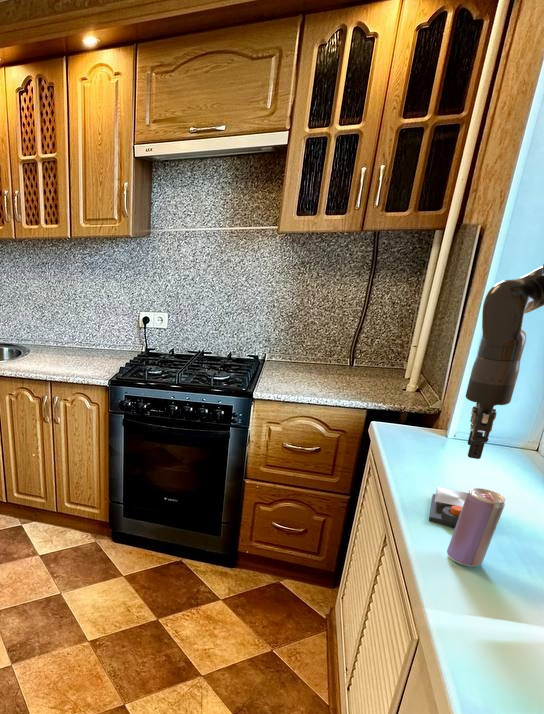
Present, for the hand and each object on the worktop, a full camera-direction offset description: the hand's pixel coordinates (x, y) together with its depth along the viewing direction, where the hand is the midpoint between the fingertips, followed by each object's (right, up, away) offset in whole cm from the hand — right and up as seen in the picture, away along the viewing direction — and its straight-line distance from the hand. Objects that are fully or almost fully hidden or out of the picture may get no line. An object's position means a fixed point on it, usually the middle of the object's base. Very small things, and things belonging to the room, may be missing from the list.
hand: (473, 451), depth 114 cm
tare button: (+1, -15, +5) cm, 16 cm away
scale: (+4, -16, +10) cm, 19 cm away
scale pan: (+5, -12, +11) cm, 17 cm away
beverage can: (-7, -22, -7) cm, 24 cm away
